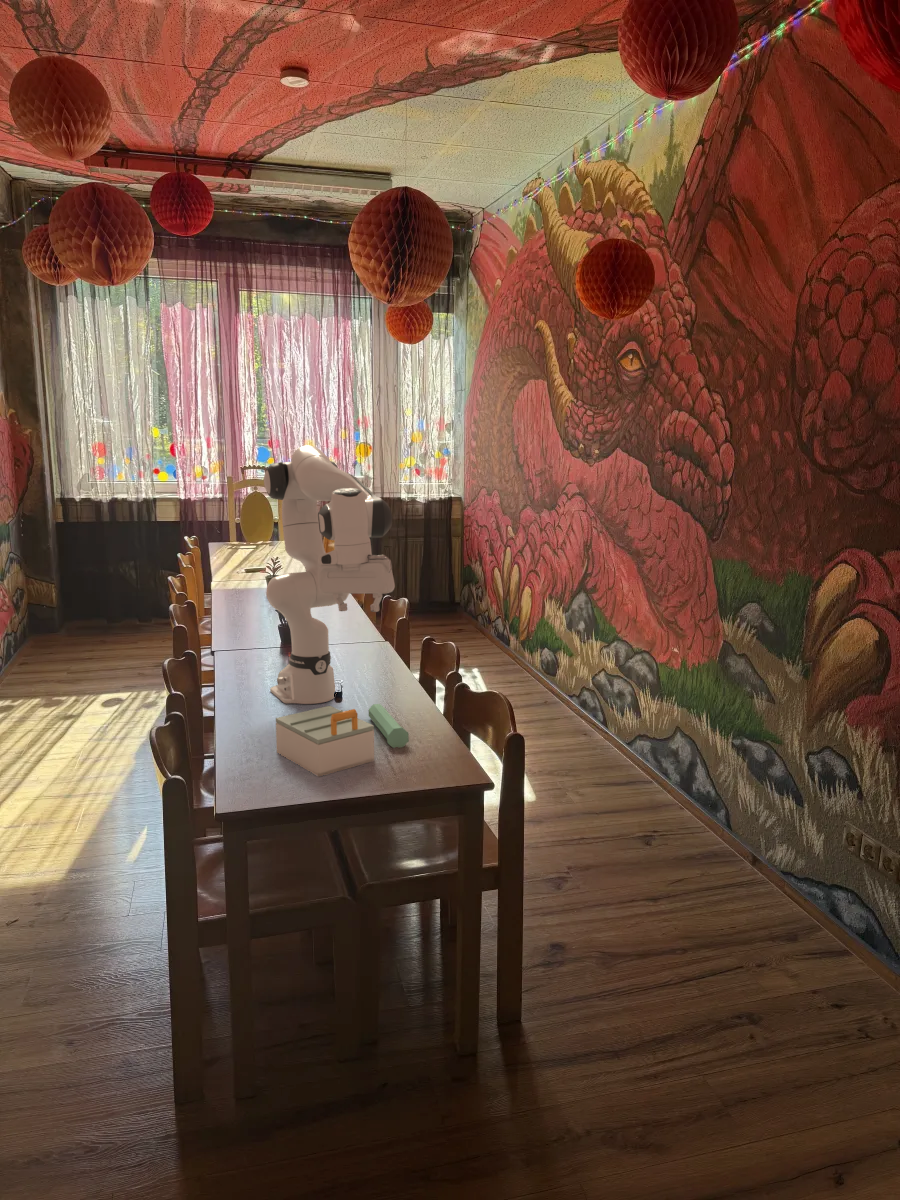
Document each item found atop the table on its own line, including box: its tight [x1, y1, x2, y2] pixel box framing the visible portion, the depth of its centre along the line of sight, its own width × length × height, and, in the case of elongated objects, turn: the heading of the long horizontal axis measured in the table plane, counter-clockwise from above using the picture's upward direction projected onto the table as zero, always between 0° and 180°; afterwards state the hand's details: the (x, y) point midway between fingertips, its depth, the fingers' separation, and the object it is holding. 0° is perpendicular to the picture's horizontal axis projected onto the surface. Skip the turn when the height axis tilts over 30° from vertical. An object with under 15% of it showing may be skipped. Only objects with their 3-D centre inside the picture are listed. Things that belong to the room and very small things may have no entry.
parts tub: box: [275, 722, 375, 778], centre depth 215 cm, size 20×16×8 cm
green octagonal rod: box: [368, 703, 409, 749], centre depth 234 cm, size 6×6×25 cm
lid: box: [275, 705, 375, 744], centre depth 214 cm, size 20×16×6 cm
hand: (359, 611), depth 212 cm, fingers open, 8 cm apart
